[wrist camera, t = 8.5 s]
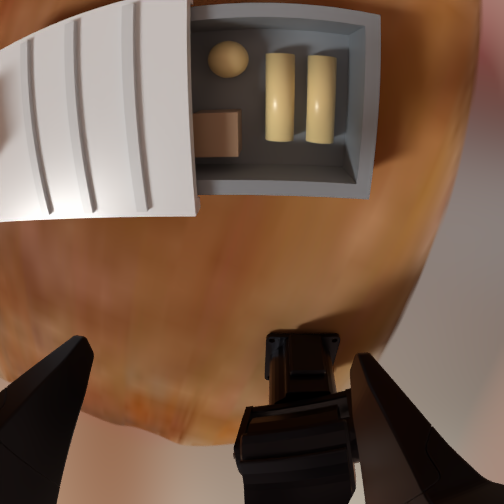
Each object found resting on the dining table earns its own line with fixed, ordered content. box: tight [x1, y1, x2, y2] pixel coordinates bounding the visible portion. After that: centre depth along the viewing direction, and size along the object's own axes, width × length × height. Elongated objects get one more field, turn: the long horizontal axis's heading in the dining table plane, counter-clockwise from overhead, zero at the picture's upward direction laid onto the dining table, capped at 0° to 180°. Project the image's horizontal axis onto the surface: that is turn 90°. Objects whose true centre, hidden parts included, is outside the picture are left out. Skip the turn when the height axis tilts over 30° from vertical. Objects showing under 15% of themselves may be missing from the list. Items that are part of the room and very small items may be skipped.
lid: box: [0, 0, 200, 222], centre depth 12 cm, size 12×16×5 cm
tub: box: [190, 3, 381, 199], centre depth 15 cm, size 10×14×4 cm
